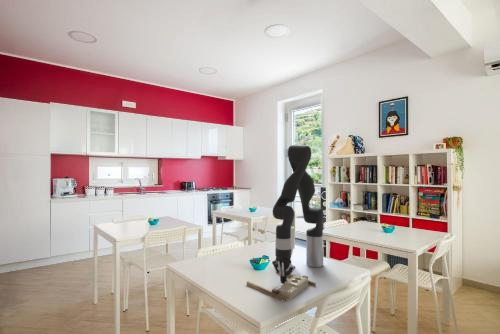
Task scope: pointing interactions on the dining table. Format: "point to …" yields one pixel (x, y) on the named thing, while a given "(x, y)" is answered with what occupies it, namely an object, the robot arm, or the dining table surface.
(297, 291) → the electrical outlet
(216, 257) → the dining table surface
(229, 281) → the dining table surface
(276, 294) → the brown flat piece
